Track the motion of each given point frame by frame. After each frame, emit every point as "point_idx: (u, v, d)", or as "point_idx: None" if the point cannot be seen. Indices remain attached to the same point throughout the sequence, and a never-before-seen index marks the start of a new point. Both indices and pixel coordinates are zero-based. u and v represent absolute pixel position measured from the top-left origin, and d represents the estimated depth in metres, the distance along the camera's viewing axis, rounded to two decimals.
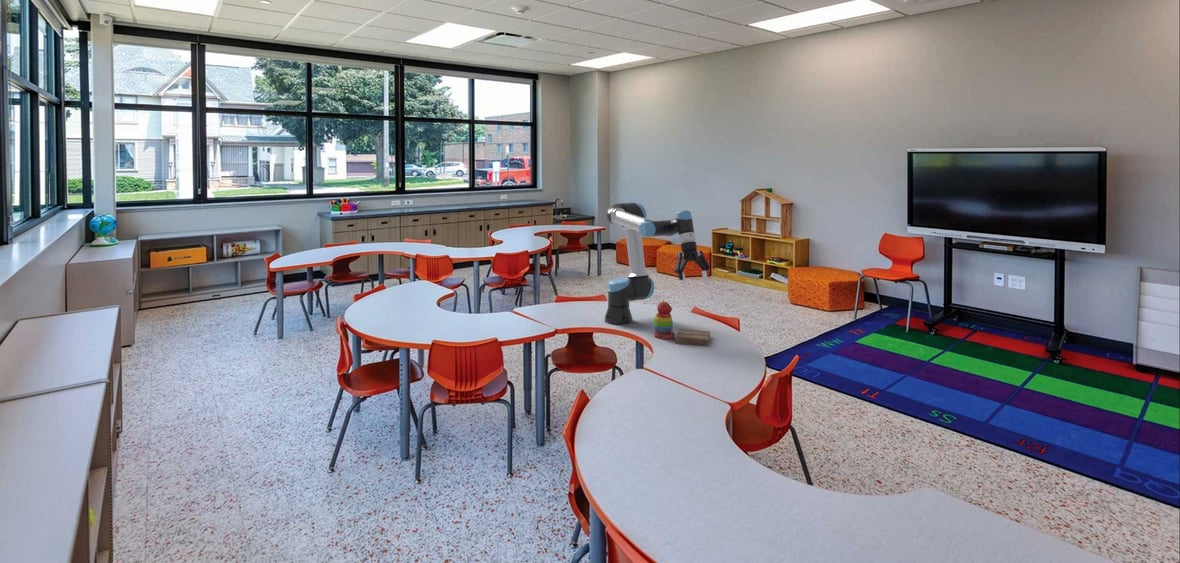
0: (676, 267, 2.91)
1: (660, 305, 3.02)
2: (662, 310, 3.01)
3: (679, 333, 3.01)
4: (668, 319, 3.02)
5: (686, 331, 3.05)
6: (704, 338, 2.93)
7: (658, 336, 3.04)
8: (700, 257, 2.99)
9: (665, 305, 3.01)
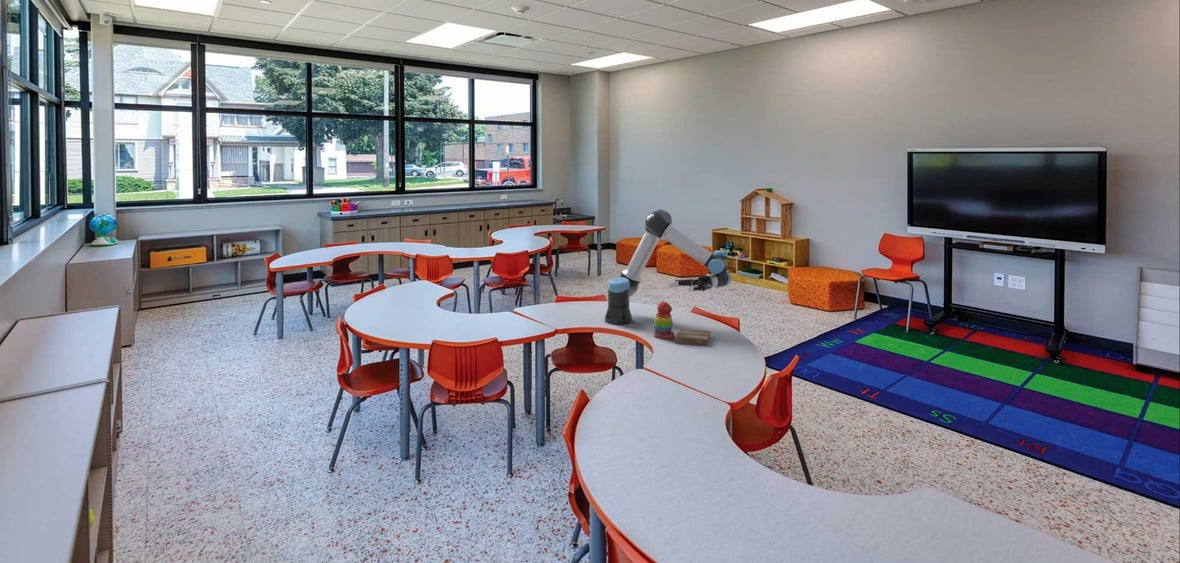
0: (705, 287, 3.06)
1: (660, 305, 3.02)
2: (662, 310, 3.01)
3: (679, 333, 3.01)
4: (668, 319, 3.02)
5: (686, 331, 3.05)
6: (704, 338, 2.93)
7: (658, 336, 3.04)
8: None
9: (665, 305, 3.01)
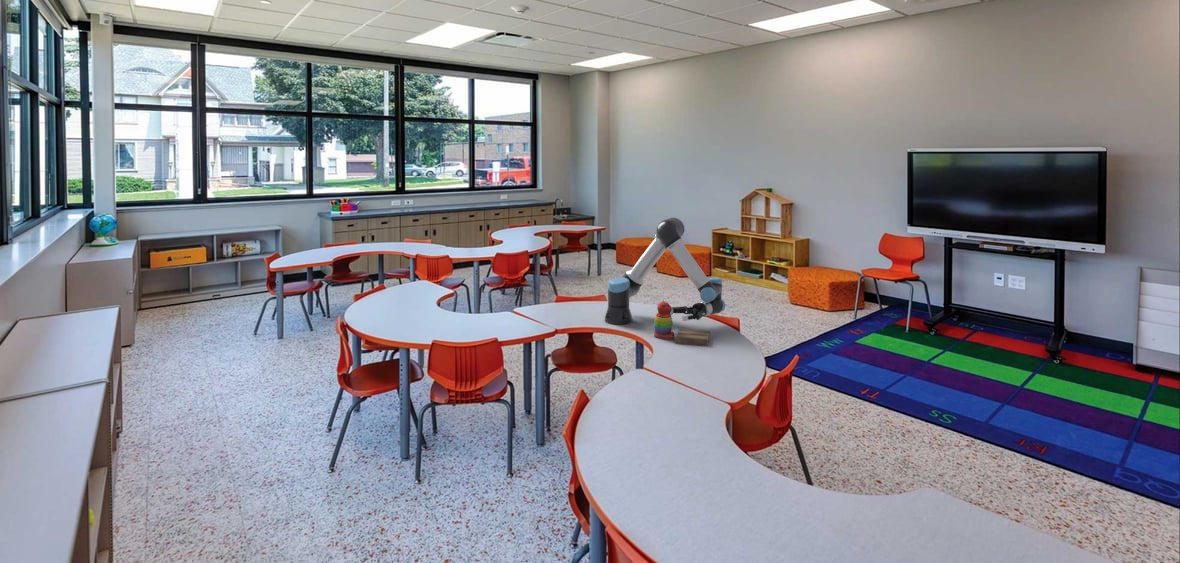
0: (699, 316, 3.06)
1: (660, 305, 3.02)
2: (662, 310, 3.01)
3: (679, 333, 3.01)
4: (668, 319, 3.02)
5: (686, 331, 3.05)
6: (704, 338, 2.93)
7: (658, 336, 3.04)
8: None
9: (665, 305, 3.01)
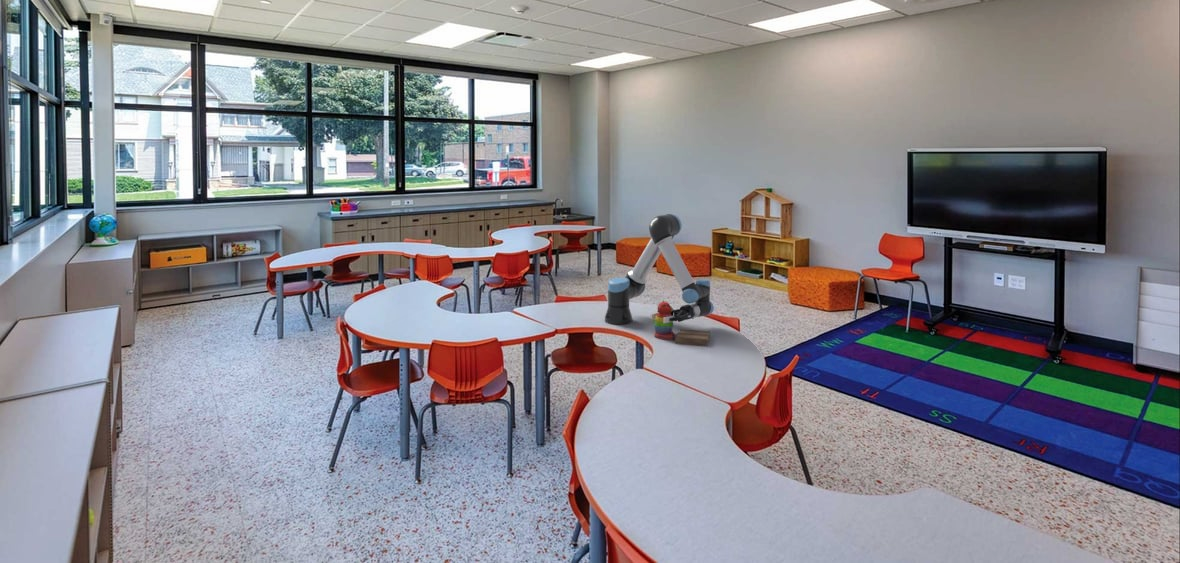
0: (682, 318, 3.02)
1: (660, 305, 3.02)
2: (662, 310, 3.01)
3: (679, 333, 3.01)
4: None
5: (686, 331, 3.05)
6: (704, 338, 2.93)
7: (658, 336, 3.03)
8: None
9: (665, 305, 3.01)
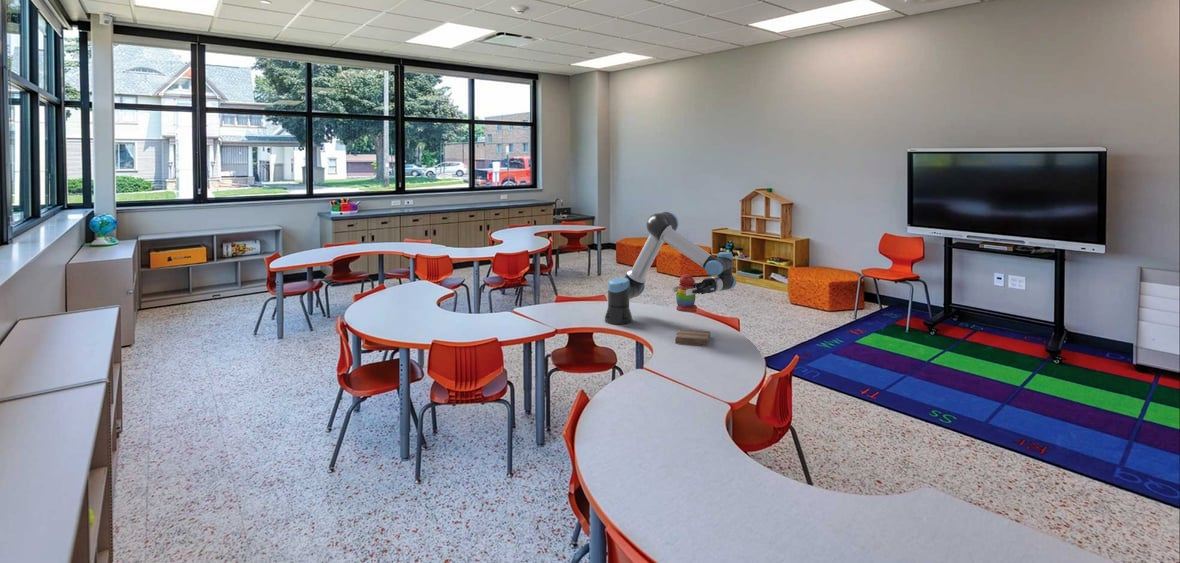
0: (705, 291, 2.94)
1: (682, 277, 2.94)
2: (684, 282, 2.93)
3: (679, 333, 3.01)
4: None
5: (686, 331, 3.05)
6: (704, 338, 2.93)
7: (681, 309, 2.95)
8: None
9: (688, 277, 2.93)
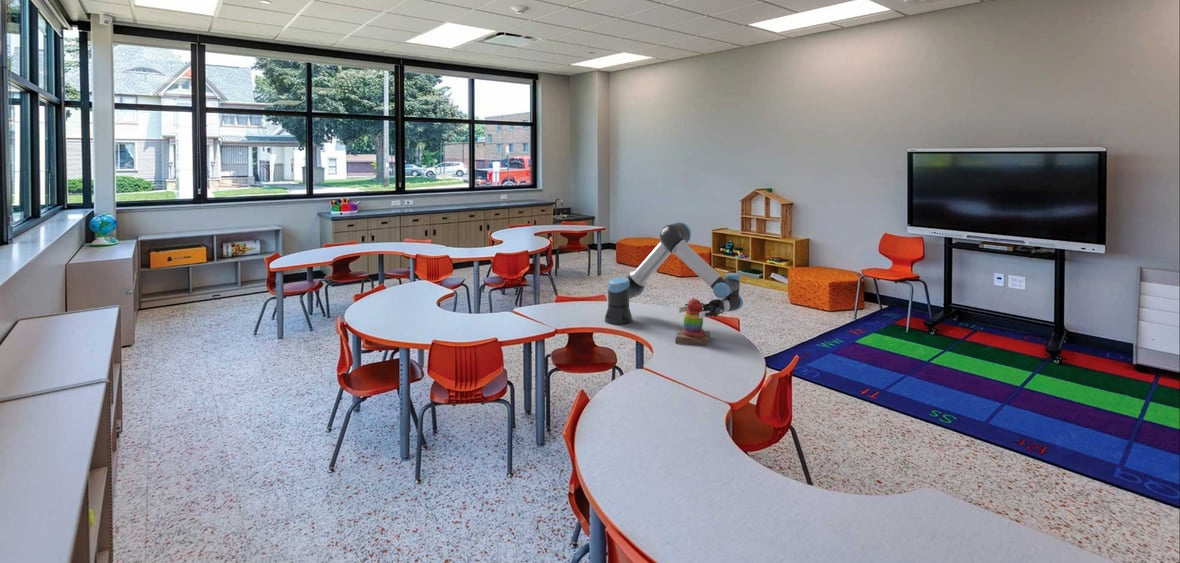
0: (717, 313, 2.94)
1: (691, 302, 2.95)
2: (692, 307, 2.94)
3: (679, 333, 3.01)
4: None
5: None
6: (704, 338, 2.93)
7: (688, 334, 2.96)
8: None
9: (696, 302, 2.94)
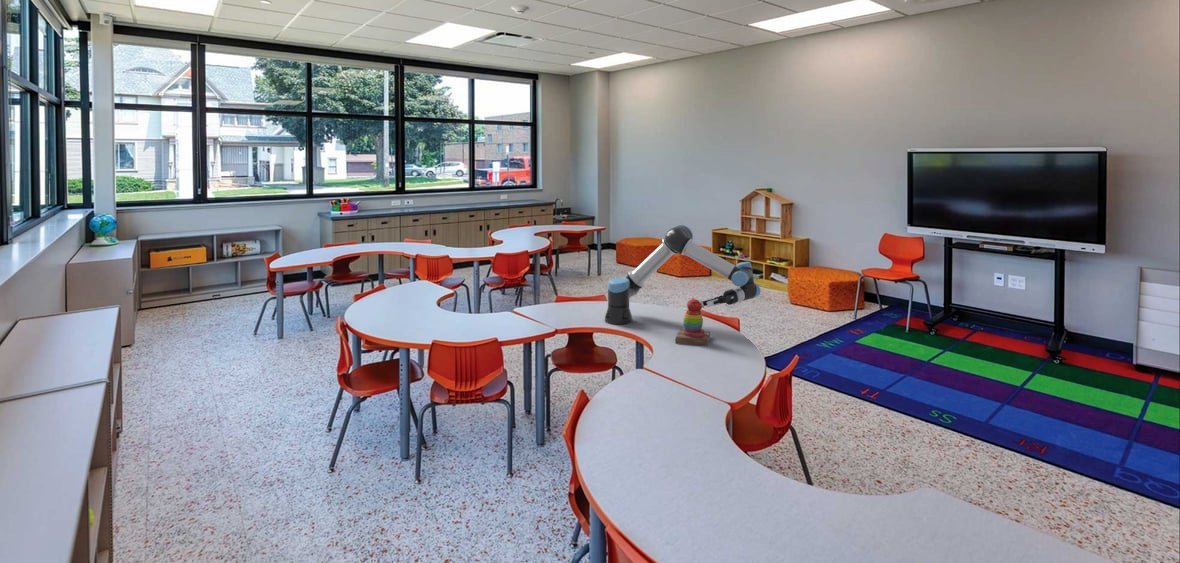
0: (726, 299, 3.00)
1: (690, 302, 2.95)
2: (692, 308, 2.94)
3: (679, 333, 3.01)
4: (698, 317, 2.94)
5: None
6: (704, 338, 2.93)
7: (688, 334, 2.96)
8: None
9: (695, 302, 2.94)
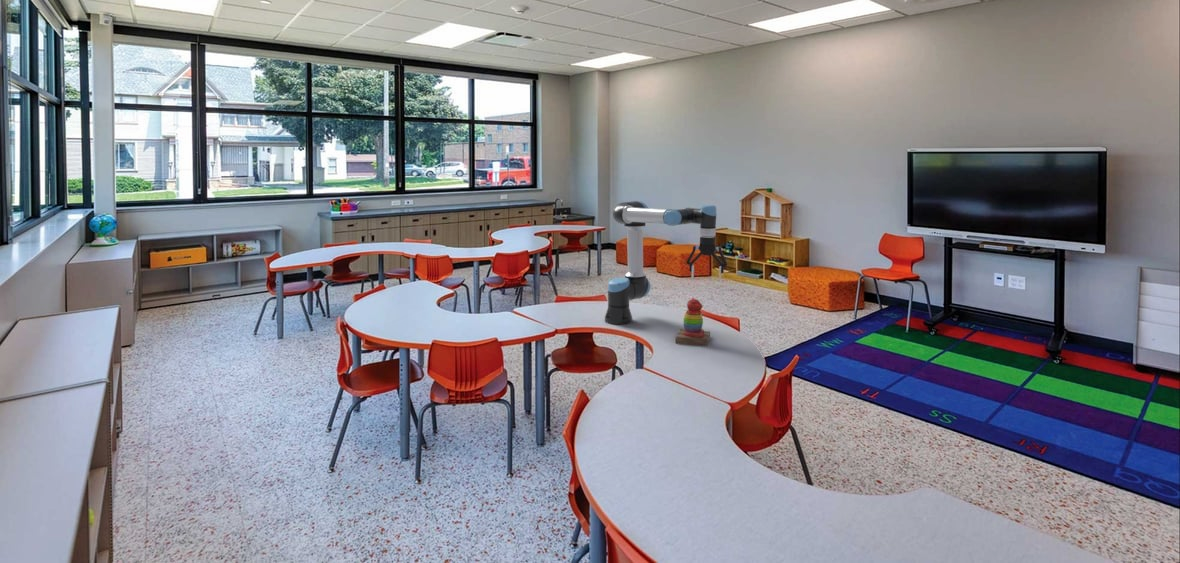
0: (688, 259, 3.06)
1: (690, 302, 2.95)
2: (692, 308, 2.94)
3: (679, 333, 3.01)
4: (698, 317, 2.94)
5: None
6: (704, 338, 2.93)
7: (688, 334, 2.96)
8: None
9: (695, 302, 2.94)
